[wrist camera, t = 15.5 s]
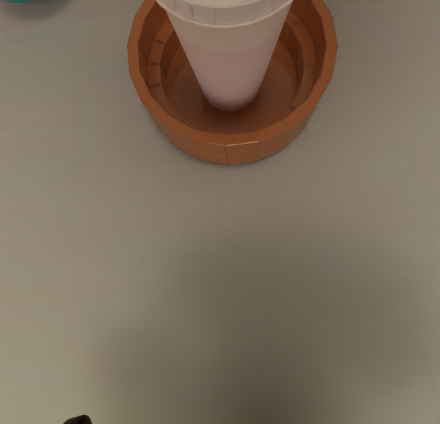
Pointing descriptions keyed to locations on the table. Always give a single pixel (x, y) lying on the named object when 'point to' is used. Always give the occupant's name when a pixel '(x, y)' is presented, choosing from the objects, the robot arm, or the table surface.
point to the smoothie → (228, 44)
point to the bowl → (245, 118)
